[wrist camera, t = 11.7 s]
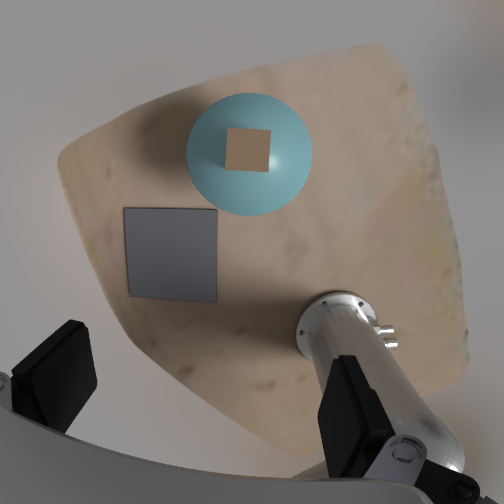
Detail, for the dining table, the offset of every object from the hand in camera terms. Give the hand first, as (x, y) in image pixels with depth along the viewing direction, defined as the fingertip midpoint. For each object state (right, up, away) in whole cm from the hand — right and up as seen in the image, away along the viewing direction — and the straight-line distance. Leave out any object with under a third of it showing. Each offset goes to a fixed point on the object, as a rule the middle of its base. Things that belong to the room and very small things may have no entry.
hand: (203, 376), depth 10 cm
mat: (-10, +4, +32) cm, 33 cm away
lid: (+1, +14, +18) cm, 23 cm away
